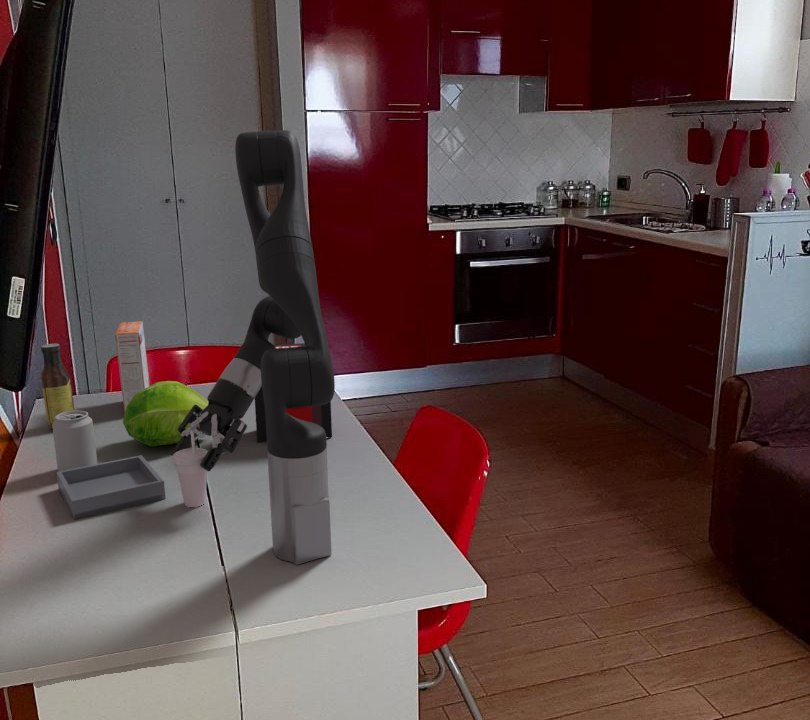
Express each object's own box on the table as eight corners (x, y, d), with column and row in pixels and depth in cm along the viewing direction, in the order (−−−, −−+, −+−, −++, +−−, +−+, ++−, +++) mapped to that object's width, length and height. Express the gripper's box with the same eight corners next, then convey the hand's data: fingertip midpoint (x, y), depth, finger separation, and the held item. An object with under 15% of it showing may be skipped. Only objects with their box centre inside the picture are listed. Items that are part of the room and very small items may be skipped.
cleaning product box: (329, 425, 190) (326, 342, 185) (332, 437, 181) (328, 351, 176) (258, 429, 187) (253, 345, 182) (257, 442, 179) (251, 355, 174)
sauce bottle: (82, 425, 191) (72, 344, 187) (58, 433, 186) (48, 349, 181) (65, 421, 195) (55, 341, 190) (41, 428, 190) (30, 346, 185)
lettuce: (220, 449, 175) (216, 389, 172) (122, 459, 170) (116, 397, 167) (217, 426, 189) (213, 371, 186) (127, 435, 184) (121, 378, 181)
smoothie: (208, 510, 145) (202, 436, 141) (172, 510, 145) (165, 437, 141) (216, 496, 151) (211, 424, 147) (182, 496, 151) (176, 425, 147)
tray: (165, 498, 150) (163, 481, 149) (74, 519, 142) (72, 501, 141) (143, 471, 163) (141, 455, 162) (58, 488, 155) (56, 471, 154)
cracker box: (127, 400, 211) (119, 321, 206) (151, 398, 213) (144, 320, 207) (122, 416, 198) (113, 333, 193) (148, 414, 199) (140, 331, 194)
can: (84, 478, 160) (77, 421, 157) (50, 476, 161) (43, 419, 158) (105, 464, 167) (99, 409, 164) (72, 462, 168) (65, 407, 165)
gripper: (201, 371, 153) (153, 444, 147) (249, 384, 144) (200, 463, 138) (225, 391, 158) (180, 463, 153) (273, 405, 149) (227, 482, 144)
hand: (190, 463), depth 146 cm, fingers open, 8 cm apart
